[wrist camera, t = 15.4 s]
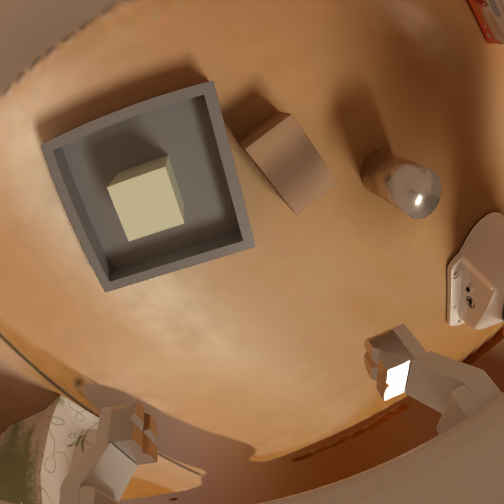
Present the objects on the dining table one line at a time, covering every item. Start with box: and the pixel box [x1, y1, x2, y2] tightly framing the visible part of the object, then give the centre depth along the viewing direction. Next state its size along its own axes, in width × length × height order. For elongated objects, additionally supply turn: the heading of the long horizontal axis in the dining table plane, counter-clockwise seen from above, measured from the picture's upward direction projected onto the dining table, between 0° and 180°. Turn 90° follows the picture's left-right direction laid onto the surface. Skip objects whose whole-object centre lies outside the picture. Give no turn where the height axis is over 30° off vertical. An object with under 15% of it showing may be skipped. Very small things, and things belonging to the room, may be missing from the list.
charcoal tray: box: [41, 81, 256, 292], centre depth 28 cm, size 16×16×3 cm
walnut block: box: [238, 112, 338, 215], centre depth 29 cm, size 8×5×4 cm, turn 37°
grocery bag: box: [0, 394, 99, 504], centre depth 35 cm, size 32×14×23 cm, turn 124°
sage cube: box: [107, 155, 184, 241], centre depth 27 cm, size 5×5×5 cm
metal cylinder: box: [361, 150, 441, 219], centre depth 30 cm, size 5×5×8 cm
